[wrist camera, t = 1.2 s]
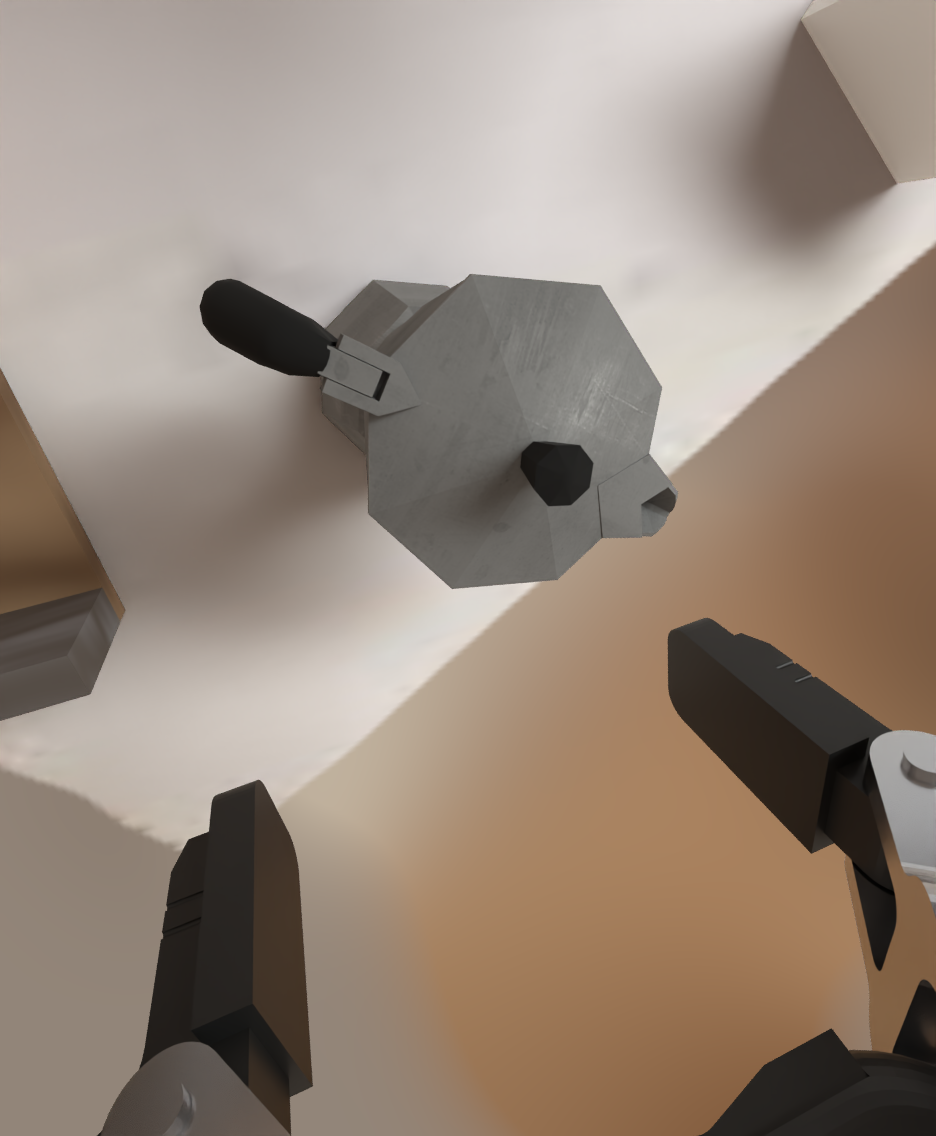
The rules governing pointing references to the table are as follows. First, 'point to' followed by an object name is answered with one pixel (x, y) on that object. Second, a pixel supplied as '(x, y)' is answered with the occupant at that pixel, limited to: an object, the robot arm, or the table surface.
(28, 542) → the rail
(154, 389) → the table surface
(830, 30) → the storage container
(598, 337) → the coffeepot
